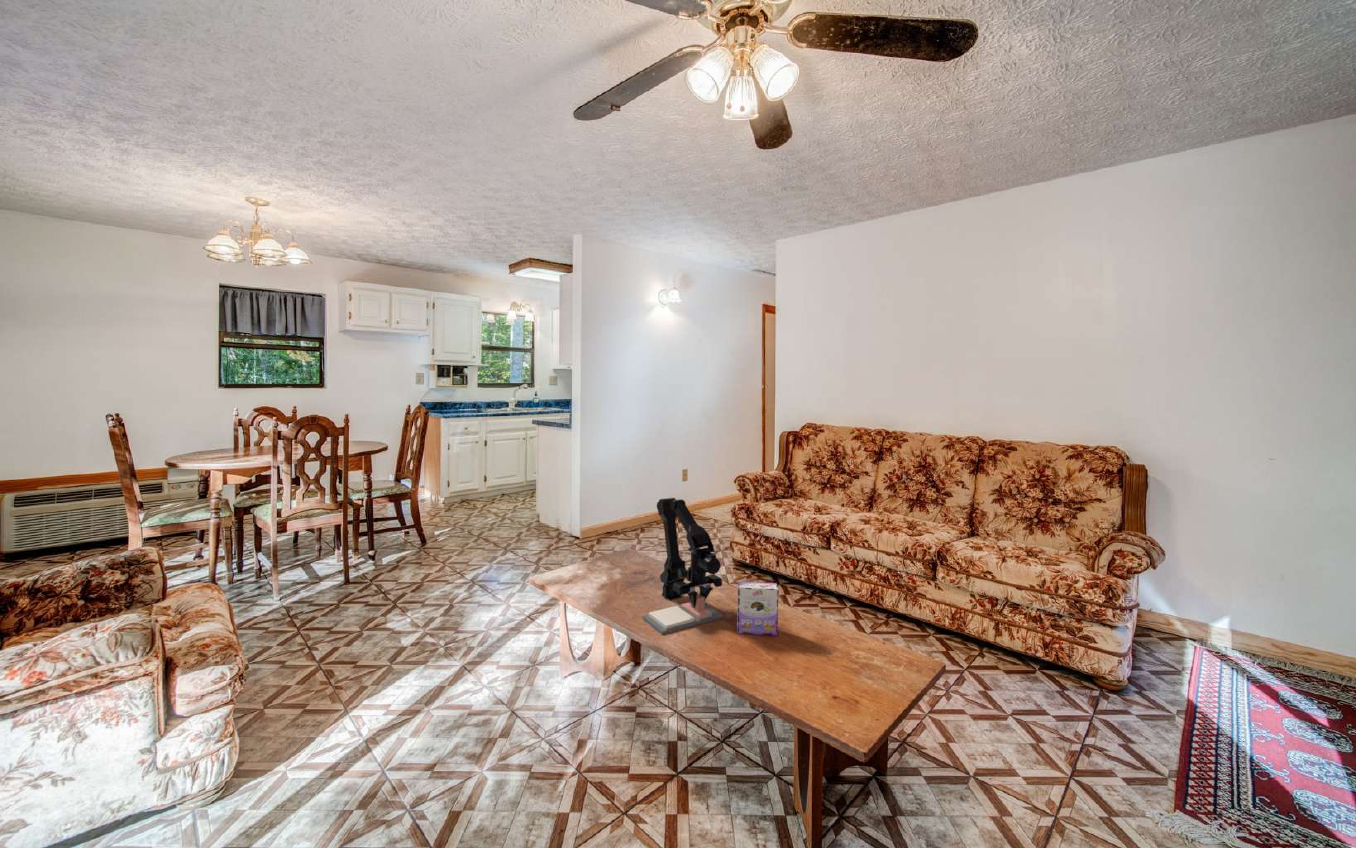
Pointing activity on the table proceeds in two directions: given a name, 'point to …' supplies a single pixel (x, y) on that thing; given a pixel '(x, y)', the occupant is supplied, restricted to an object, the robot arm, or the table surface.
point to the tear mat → (662, 630)
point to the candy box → (757, 608)
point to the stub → (697, 608)
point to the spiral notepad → (671, 617)
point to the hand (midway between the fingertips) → (697, 606)
